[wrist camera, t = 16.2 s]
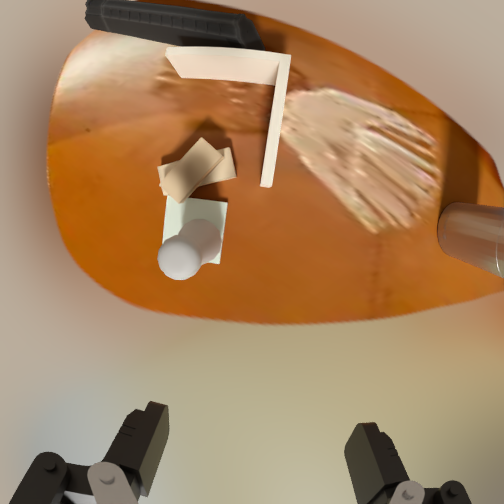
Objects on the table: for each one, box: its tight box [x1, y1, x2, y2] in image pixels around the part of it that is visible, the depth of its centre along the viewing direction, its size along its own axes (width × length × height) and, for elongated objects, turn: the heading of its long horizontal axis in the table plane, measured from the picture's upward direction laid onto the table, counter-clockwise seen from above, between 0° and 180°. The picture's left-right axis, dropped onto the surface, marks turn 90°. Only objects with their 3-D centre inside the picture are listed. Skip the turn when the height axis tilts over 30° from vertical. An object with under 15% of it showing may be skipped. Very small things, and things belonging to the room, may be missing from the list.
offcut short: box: [159, 137, 224, 204], centre depth 34 cm, size 8×4×2 cm, turn 136°
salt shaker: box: [158, 219, 222, 280], centre depth 31 cm, size 6×6×13 cm
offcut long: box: [158, 147, 237, 195], centre depth 36 cm, size 10×4×2 cm, turn 103°
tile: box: [162, 195, 228, 264], centre depth 38 cm, size 8×8×1 cm
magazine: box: [85, 0, 265, 51], centre depth 27 cm, size 17×3×30 cm
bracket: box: [165, 47, 291, 188], centre depth 31 cm, size 15×16×8 cm
